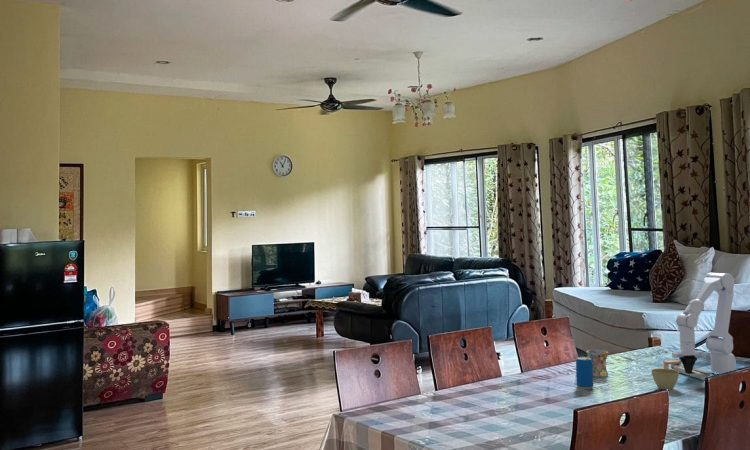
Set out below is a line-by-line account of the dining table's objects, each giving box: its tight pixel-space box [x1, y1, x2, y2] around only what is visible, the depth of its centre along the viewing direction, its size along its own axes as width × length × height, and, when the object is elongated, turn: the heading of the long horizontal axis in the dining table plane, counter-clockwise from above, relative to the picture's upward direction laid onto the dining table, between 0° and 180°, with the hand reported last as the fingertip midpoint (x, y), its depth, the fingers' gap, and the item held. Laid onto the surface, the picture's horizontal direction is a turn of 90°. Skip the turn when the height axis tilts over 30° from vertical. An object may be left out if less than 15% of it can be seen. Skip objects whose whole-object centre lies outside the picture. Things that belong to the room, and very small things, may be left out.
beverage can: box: [575, 356, 594, 390], centre depth 249 cm, size 6×6×12 cm
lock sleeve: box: [663, 359, 682, 369], centre depth 277 cm, size 7×2×4 cm, turn 104°
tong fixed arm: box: [670, 364, 711, 377], centre depth 268 cm, size 4×21×2 cm, turn 14°
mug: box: [586, 349, 609, 378], centre depth 269 cm, size 12×9×11 cm
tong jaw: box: [677, 367, 706, 380], centre depth 263 cm, size 16×3×2 cm, turn 10°
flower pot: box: [651, 368, 680, 391], centre depth 243 cm, size 10×10×7 cm
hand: (688, 373), depth 261 cm, fingers closed
